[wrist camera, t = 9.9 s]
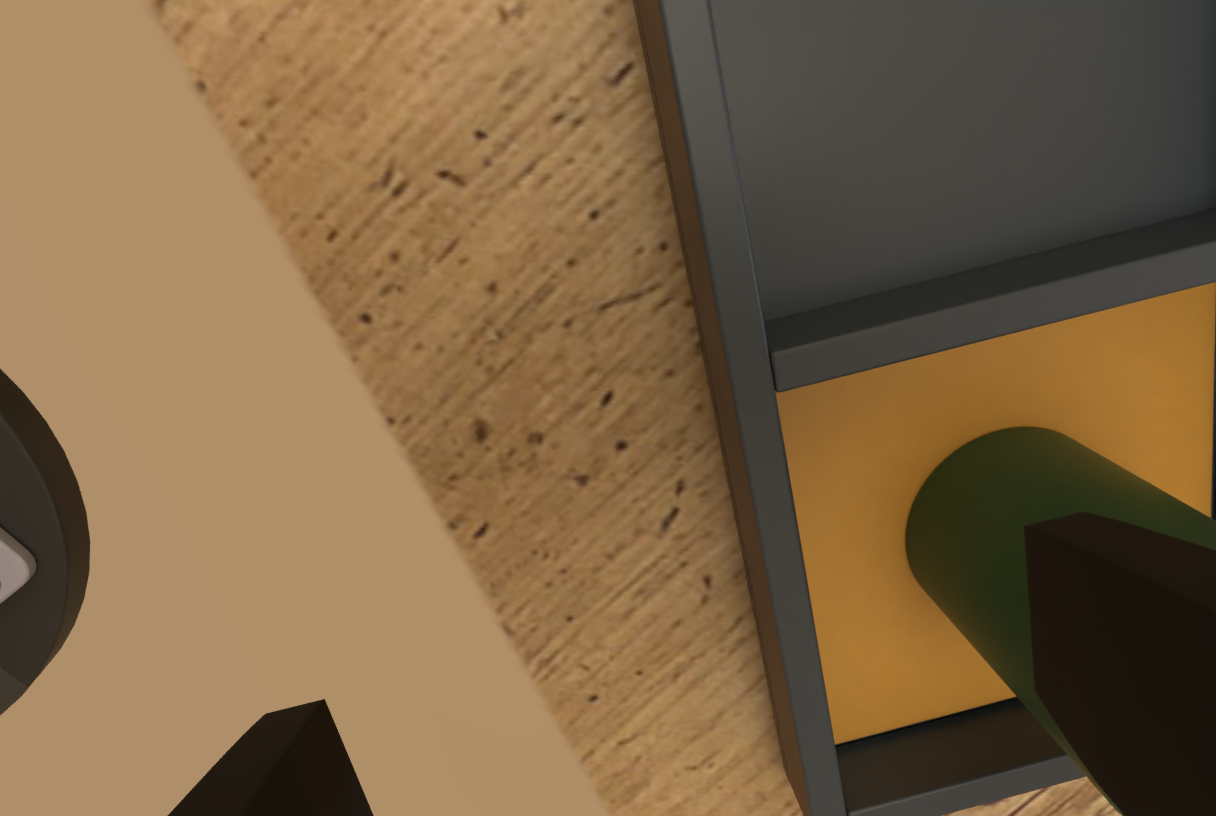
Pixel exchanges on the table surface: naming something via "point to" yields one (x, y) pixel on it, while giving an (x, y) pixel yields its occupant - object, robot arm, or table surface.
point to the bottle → (1021, 537)
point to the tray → (930, 324)
